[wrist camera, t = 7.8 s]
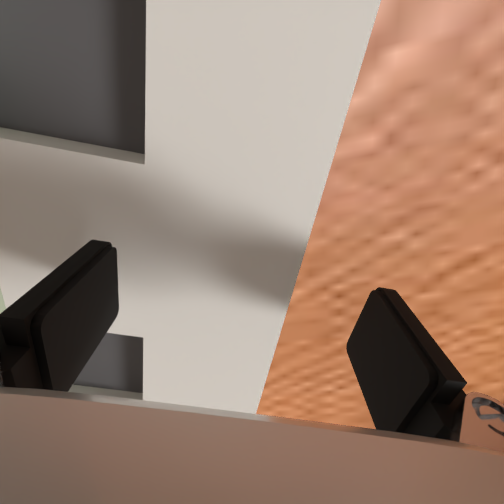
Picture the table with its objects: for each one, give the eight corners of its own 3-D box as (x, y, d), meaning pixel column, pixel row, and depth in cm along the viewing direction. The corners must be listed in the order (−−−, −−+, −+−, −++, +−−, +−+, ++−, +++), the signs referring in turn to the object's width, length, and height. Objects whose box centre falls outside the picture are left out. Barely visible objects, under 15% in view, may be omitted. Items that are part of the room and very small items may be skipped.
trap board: (-367, -257, 7) (-580, -382, 5) (379, -61, 8) (412, -106, 7) (-65, 373, 17) (-101, 404, 16) (247, 411, 19) (246, 442, 17)
